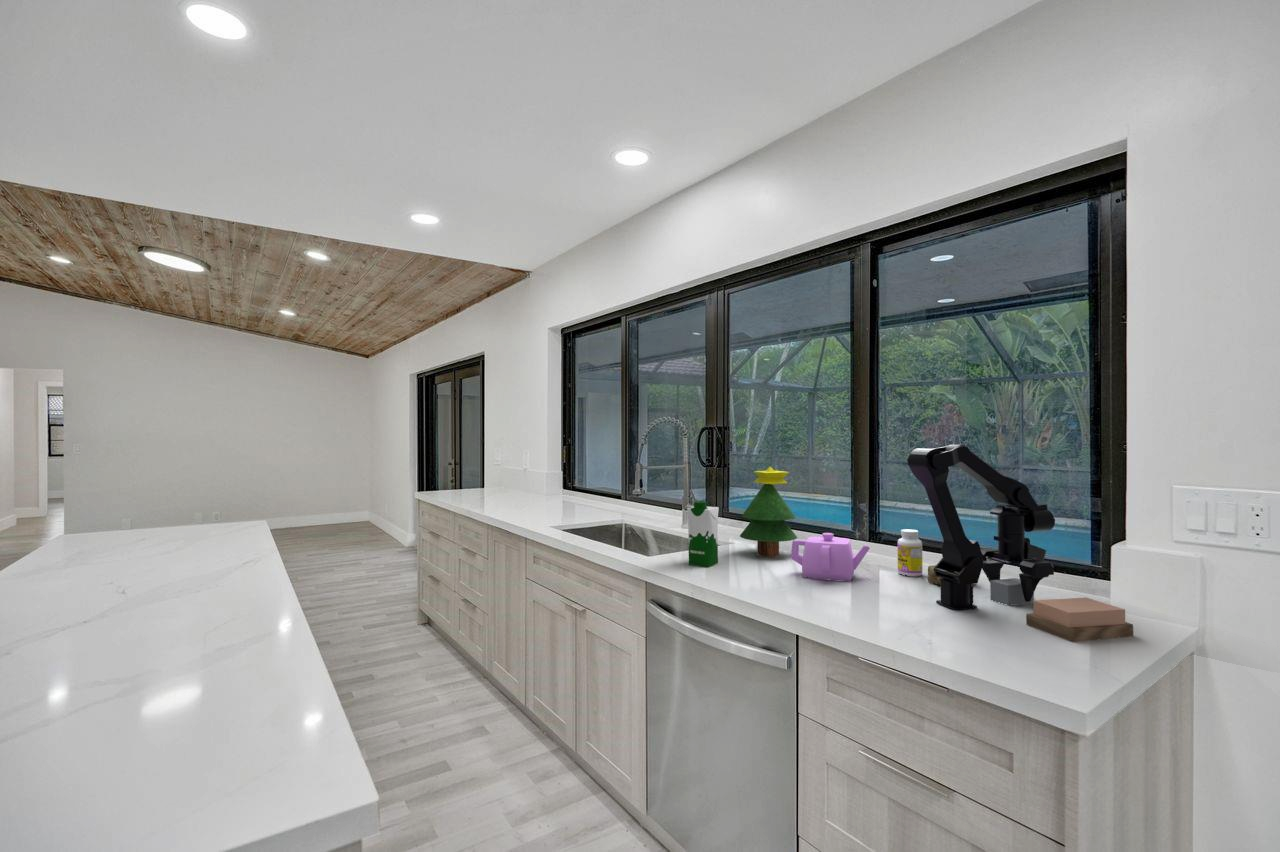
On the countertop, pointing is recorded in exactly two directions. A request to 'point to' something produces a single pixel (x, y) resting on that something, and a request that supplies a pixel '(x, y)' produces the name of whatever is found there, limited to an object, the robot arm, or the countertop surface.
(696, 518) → the milk carton
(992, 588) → the charcoal block
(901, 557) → the supplement bottle
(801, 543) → the teakettle
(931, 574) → the stone block
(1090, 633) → the base slab
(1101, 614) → the top slab
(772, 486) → the decorative tree
